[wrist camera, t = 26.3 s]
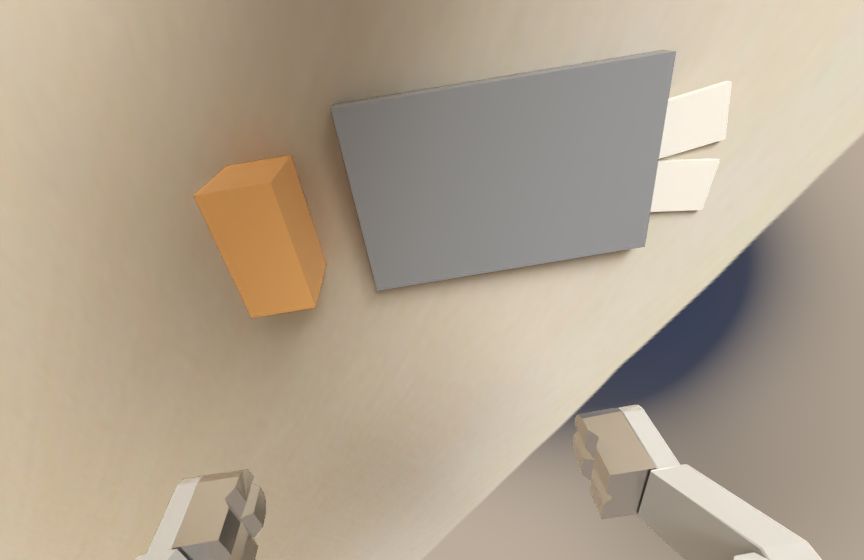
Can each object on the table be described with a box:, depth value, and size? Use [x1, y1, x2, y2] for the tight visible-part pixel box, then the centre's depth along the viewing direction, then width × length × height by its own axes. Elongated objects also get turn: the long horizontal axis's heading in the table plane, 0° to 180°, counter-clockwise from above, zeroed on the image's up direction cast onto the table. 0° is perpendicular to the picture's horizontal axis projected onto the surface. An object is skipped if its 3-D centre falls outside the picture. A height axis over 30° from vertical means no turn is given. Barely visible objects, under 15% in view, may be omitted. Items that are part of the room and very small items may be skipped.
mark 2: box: [650, 159, 720, 212], centre depth 32 cm, size 5×4×1 cm
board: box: [331, 50, 676, 291], centre depth 30 cm, size 22×14×2 cm, turn 98°
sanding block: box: [193, 155, 326, 318], centre depth 29 cm, size 9×4×6 cm, turn 8°
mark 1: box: [659, 81, 732, 159], centre depth 30 cm, size 5×4×1 cm
